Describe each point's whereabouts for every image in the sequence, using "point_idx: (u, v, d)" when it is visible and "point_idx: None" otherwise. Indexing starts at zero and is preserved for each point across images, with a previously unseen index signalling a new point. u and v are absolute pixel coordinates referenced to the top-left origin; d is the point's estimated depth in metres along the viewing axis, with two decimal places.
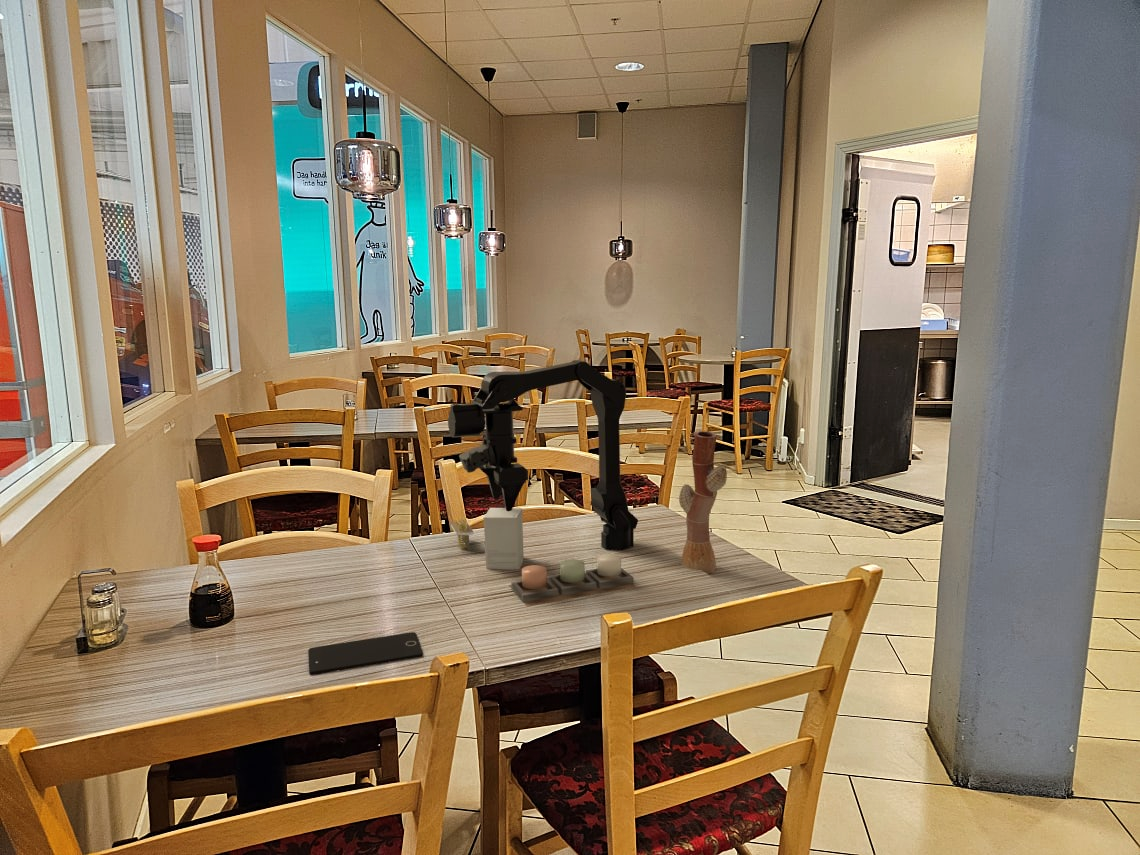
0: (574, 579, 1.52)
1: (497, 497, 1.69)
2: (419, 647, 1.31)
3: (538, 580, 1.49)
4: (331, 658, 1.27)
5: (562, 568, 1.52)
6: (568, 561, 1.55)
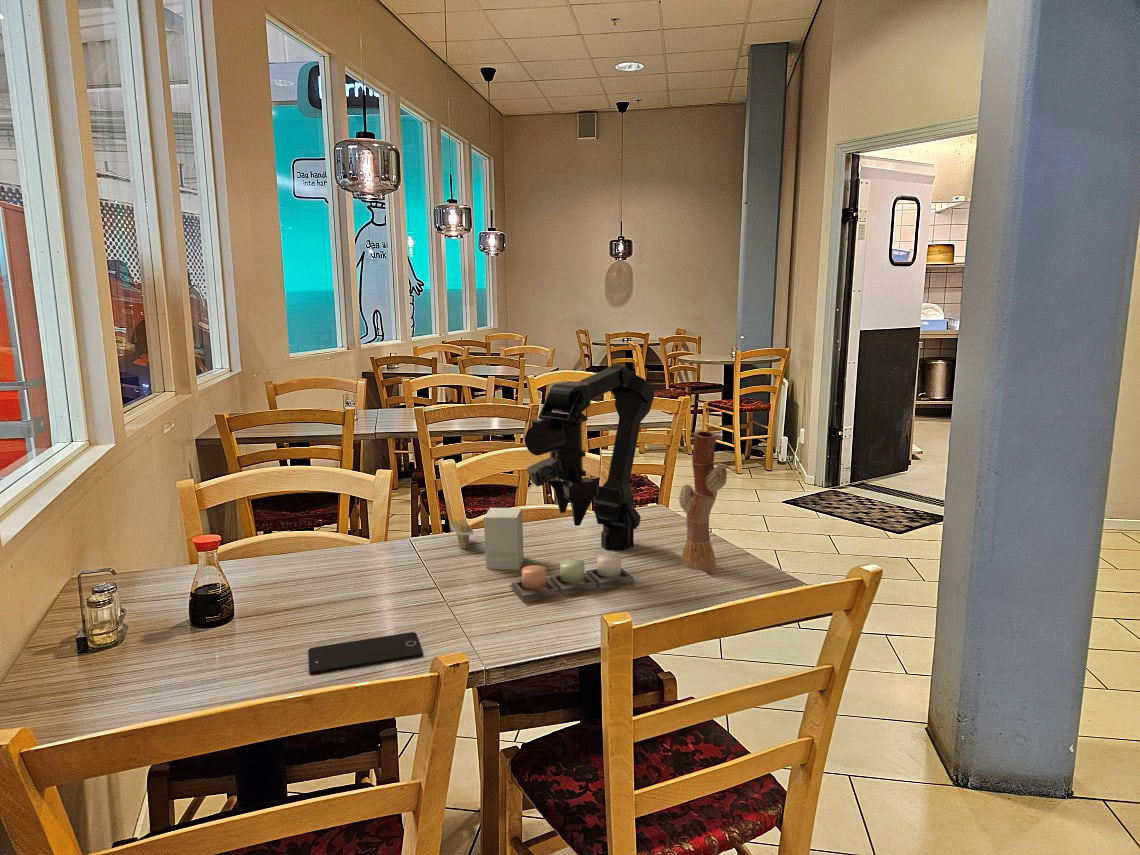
0: (574, 579, 1.52)
1: (563, 510, 1.66)
2: (419, 647, 1.31)
3: (538, 580, 1.49)
4: (331, 658, 1.27)
5: (562, 568, 1.52)
6: (568, 561, 1.55)
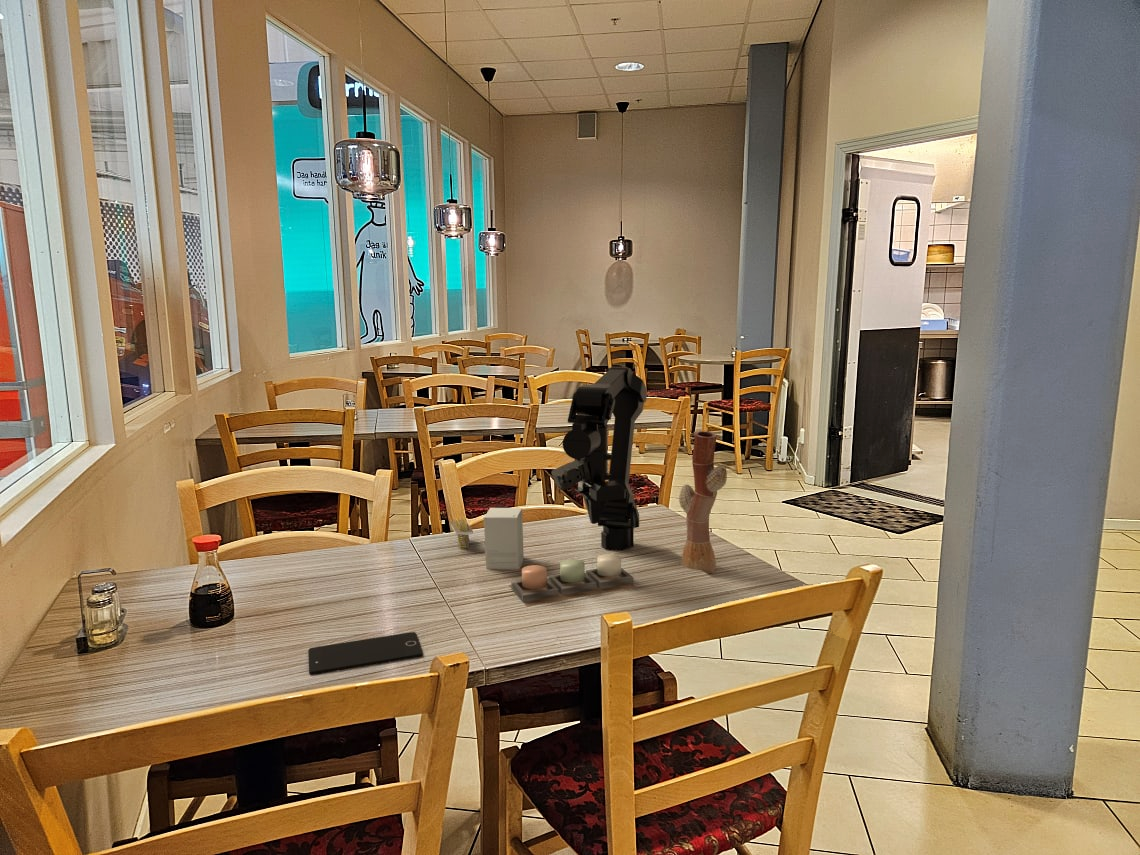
0: (574, 579, 1.52)
1: None
2: (419, 647, 1.31)
3: (538, 580, 1.49)
4: (331, 658, 1.27)
5: (562, 568, 1.52)
6: (568, 561, 1.55)
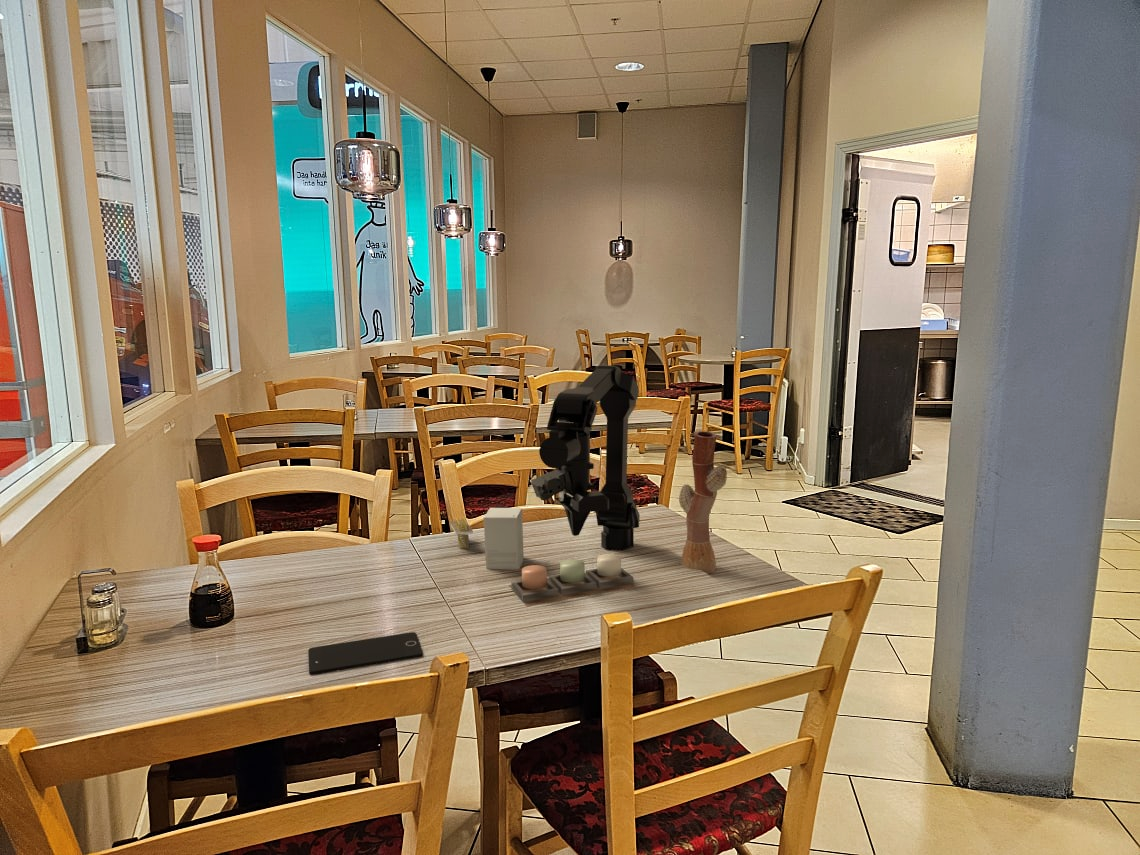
0: (574, 579, 1.52)
1: None
2: (419, 647, 1.31)
3: (538, 580, 1.49)
4: (331, 658, 1.27)
5: (562, 568, 1.52)
6: (568, 561, 1.55)
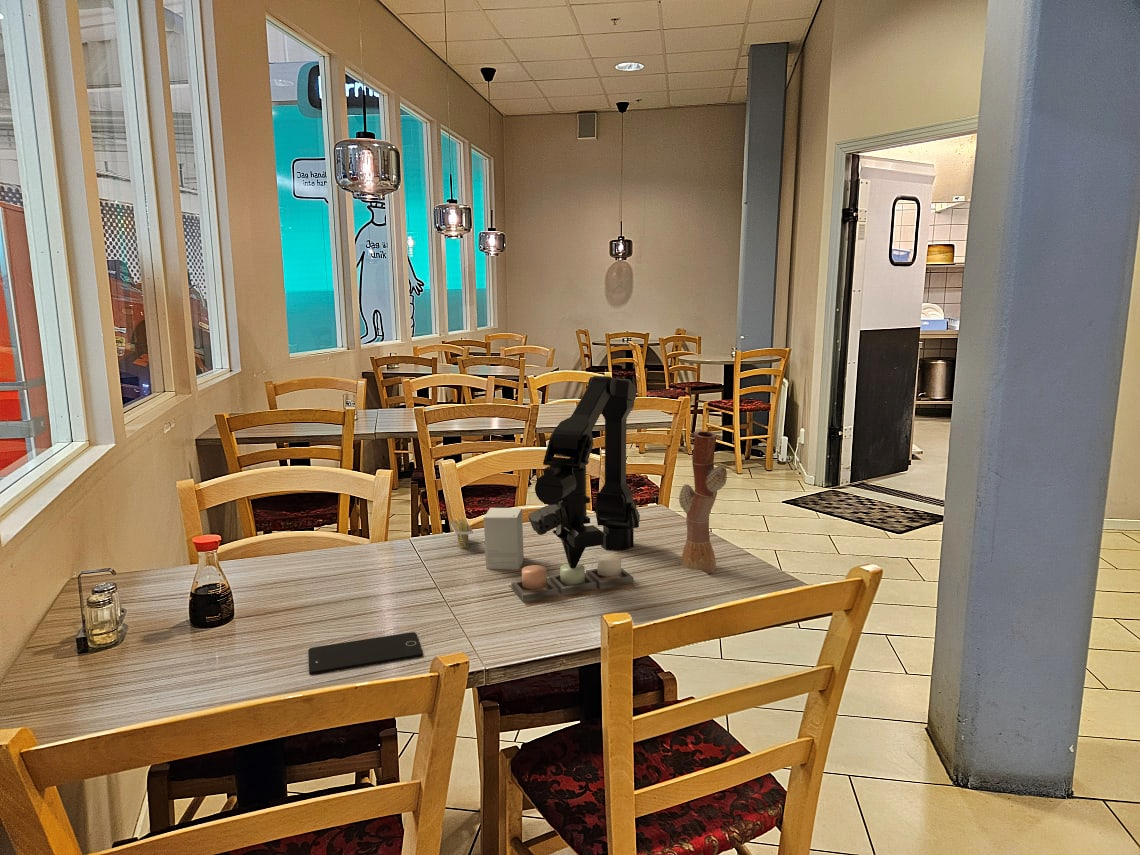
0: (574, 583, 1.52)
1: None
2: (419, 647, 1.31)
3: (538, 580, 1.49)
4: (331, 658, 1.27)
5: (562, 572, 1.53)
6: (568, 565, 1.55)
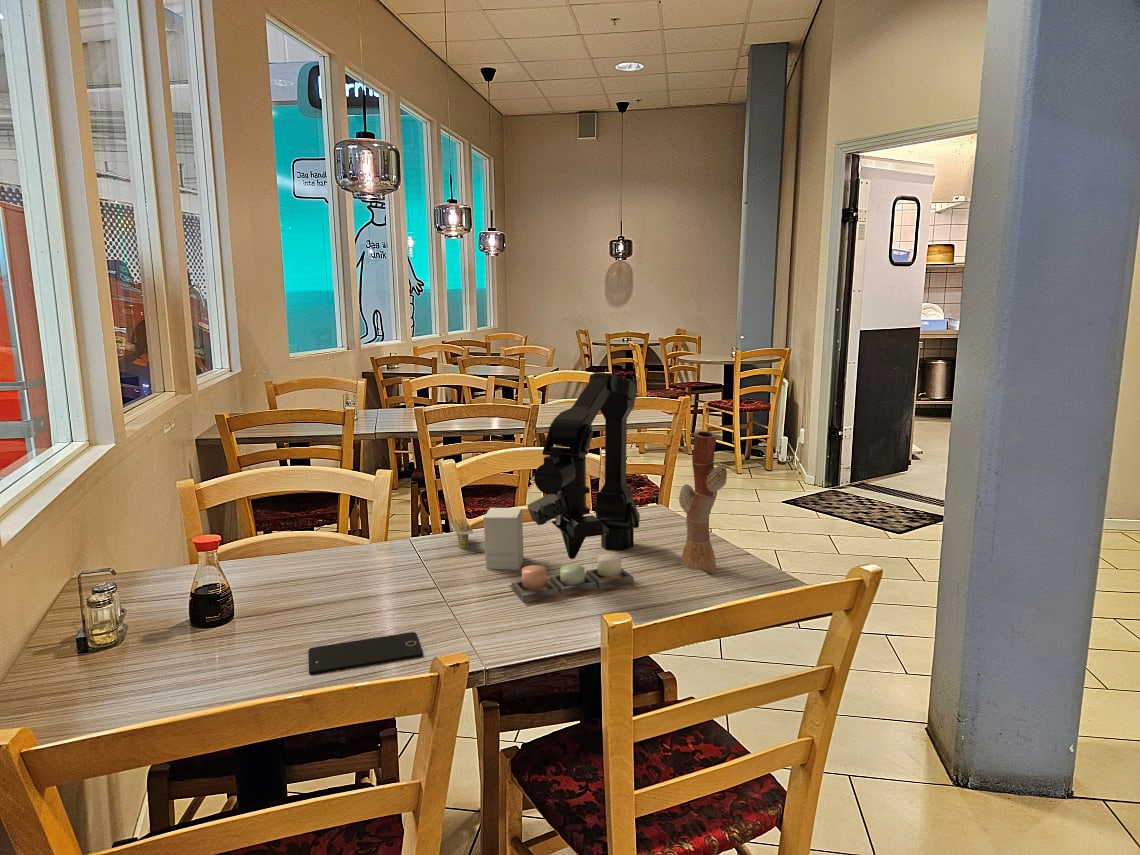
0: (574, 584, 1.52)
1: None
2: (419, 647, 1.31)
3: (538, 580, 1.49)
4: (331, 658, 1.27)
5: (562, 573, 1.53)
6: (568, 567, 1.55)
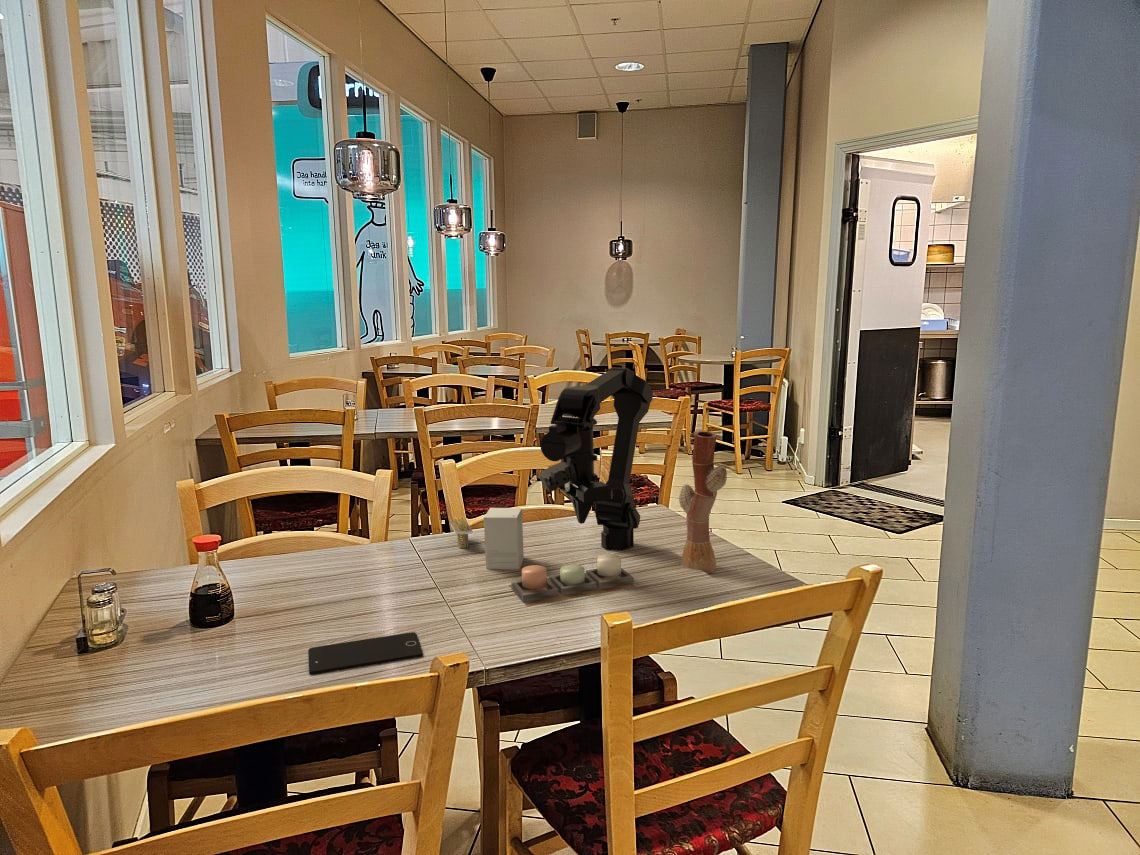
0: (574, 584, 1.52)
1: None
2: (419, 647, 1.31)
3: (538, 580, 1.49)
4: (331, 658, 1.27)
5: (562, 573, 1.53)
6: (568, 567, 1.55)
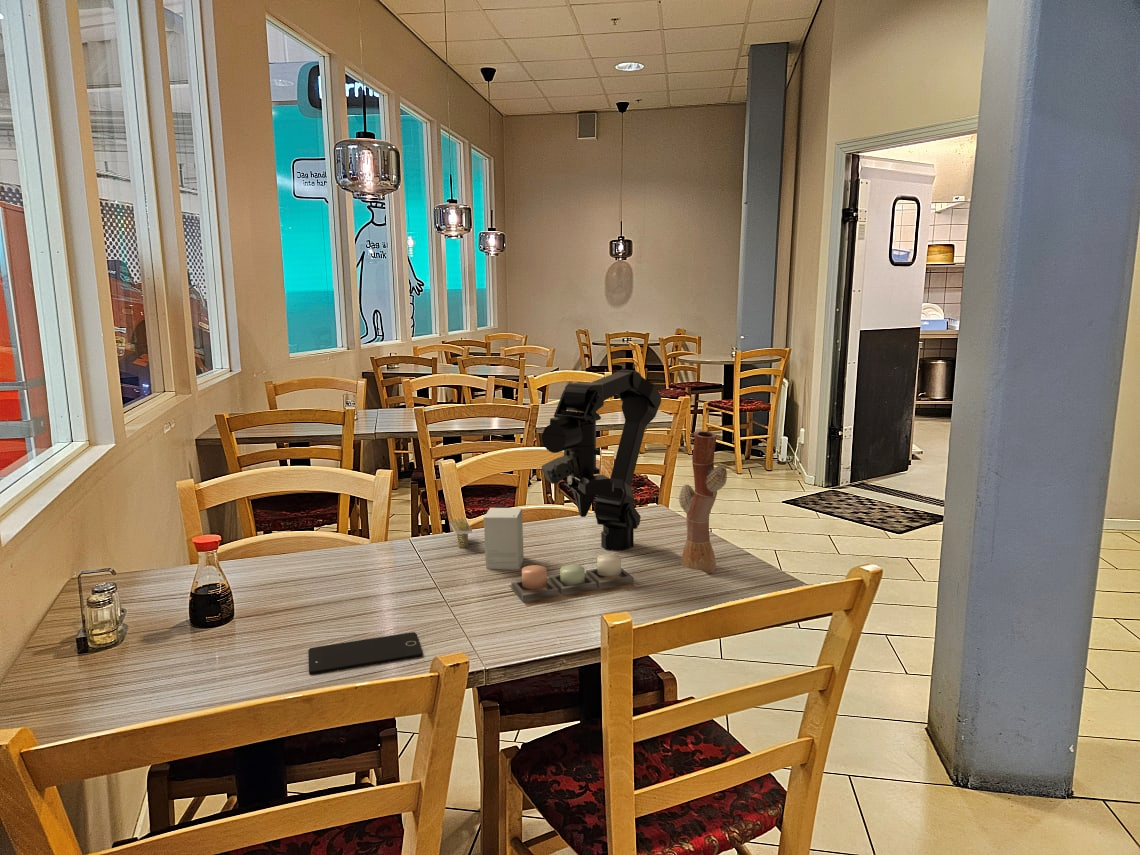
0: (574, 584, 1.52)
1: None
2: (419, 647, 1.31)
3: (538, 580, 1.49)
4: (331, 658, 1.27)
5: (562, 573, 1.53)
6: (568, 567, 1.55)
